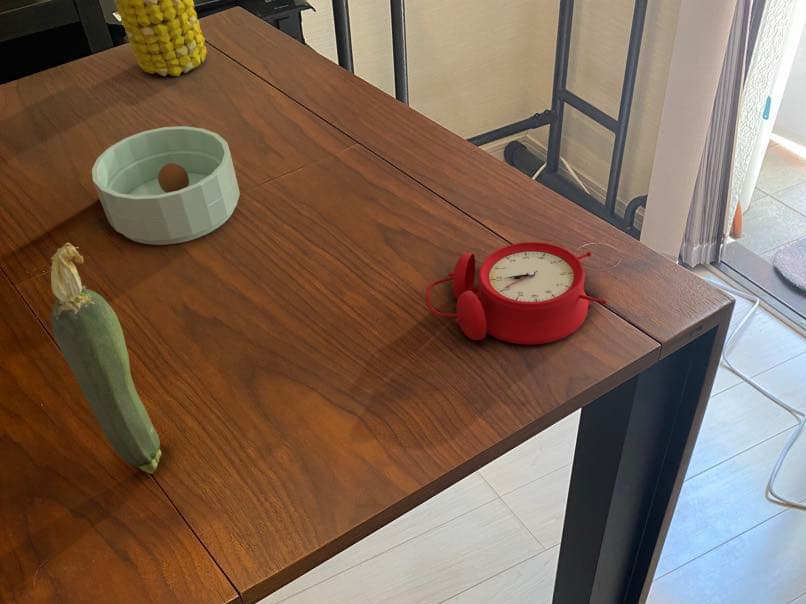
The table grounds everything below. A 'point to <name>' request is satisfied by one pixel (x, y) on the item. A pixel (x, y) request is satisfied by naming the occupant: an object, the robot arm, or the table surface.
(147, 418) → the vegetable
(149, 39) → the food
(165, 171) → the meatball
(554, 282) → the alarm clock
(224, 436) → the table surface
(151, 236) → the bowl
